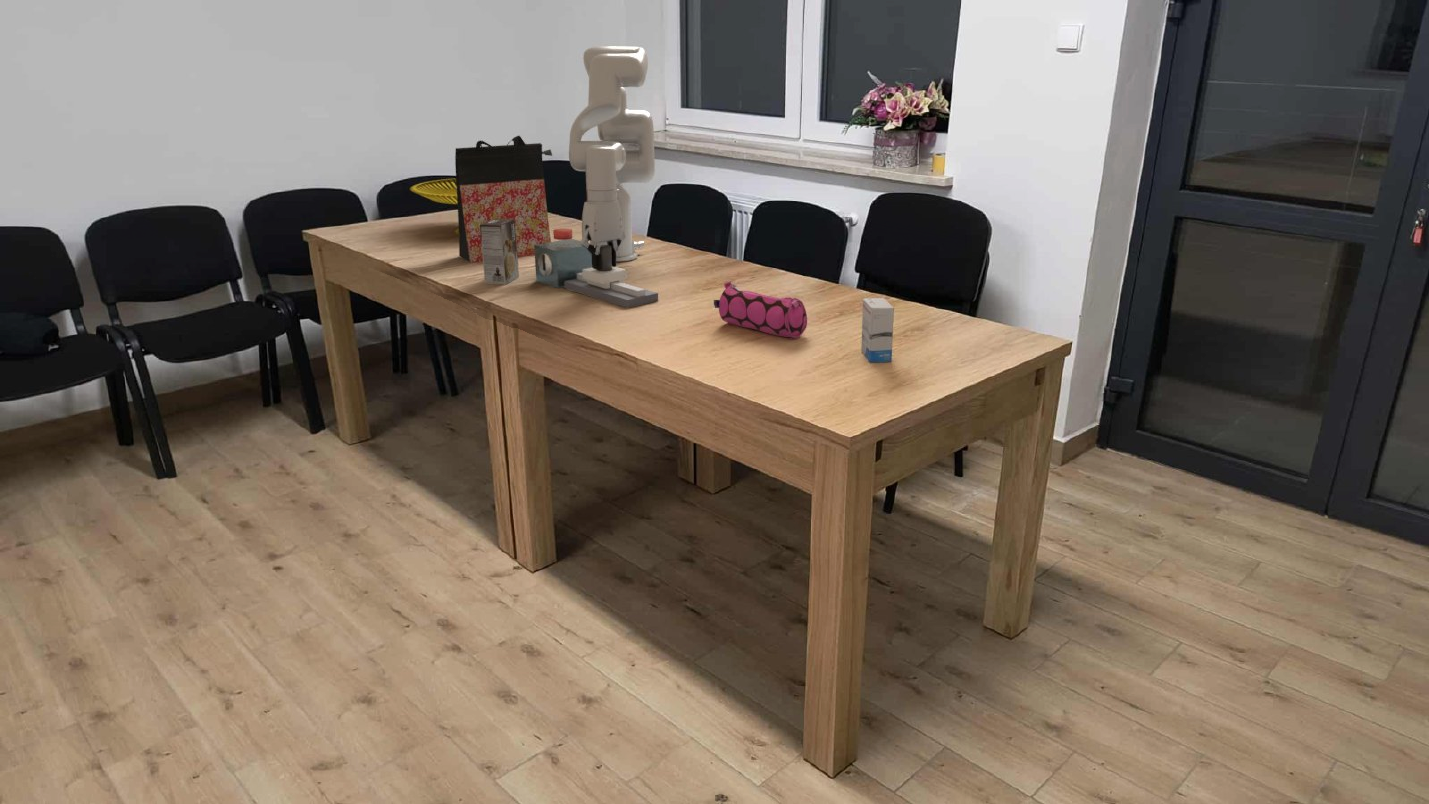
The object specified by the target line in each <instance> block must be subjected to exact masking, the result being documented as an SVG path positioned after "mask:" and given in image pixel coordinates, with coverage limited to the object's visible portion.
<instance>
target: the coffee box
mask: <svg viewBox="0 0 1429 804" xmlns="http://www.w3.org/2000/svg"><path fill="white" fill-rule="evenodd" d="M480 232H481V243H482V255H483V261H482V265H483V275H484V276H483V277H484V283H485V284H489V285H490V284H491V285H492V284H493V285H507V284H509V283H511V282H512V281H515V280H516V279H517V278H519V276H520V274H519V273H520V272H519V260H518V258H519V257H517V244H516V231H515V219H492V220H489V221H487V222H485V223H483V224H480Z"/></svg>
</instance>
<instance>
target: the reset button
mask: <svg viewBox="0 0 1429 804" xmlns="http://www.w3.org/2000/svg"><path fill="white" fill-rule="evenodd" d="M552 232H553V234H552V235H553V239H554V240H556V241H559V240H567V239H573V230H572V229H571V228H556V229H554V230H553V231H552Z"/></svg>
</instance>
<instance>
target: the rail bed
mask: <svg viewBox="0 0 1429 804" xmlns="http://www.w3.org/2000/svg"><path fill="white" fill-rule="evenodd" d="M564 285H565V287H564V289H565V290H568V291H571V292H575V293H578V294H581V295H585V296H588V297H591V298H594V299H597V300H600V301H603V302H607V303H609V304H610V303H611V304H613V305H616V306H619V307H620V306H621V307H623V308H627V309H629V308H630V309H631V308H633V307H637V306H642V305H646V304H650V303H654V301H655V302H658V301H659V292H656V291H653V290H649V289H645V288H642V287H639V286H635V285H632V284H628V283H625V282H623V283H621V282H617V281H614V282H610V288H608V289H605V288H602V287H598V286H595V285H591V284H588V283H587V279H583V272H582V273H577V279H572V280H567V281H564Z"/></svg>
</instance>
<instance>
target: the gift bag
mask: <svg viewBox="0 0 1429 804" xmlns="http://www.w3.org/2000/svg"><path fill="white" fill-rule="evenodd" d="M511 141H512V142H513V144H510V143H511ZM482 145H485V146H482ZM454 155H455V158H454V161H455V162H454V165H455V179H456V182H455V185H456V187H457V203H458V204H457V217H458V218H457V219H458V221H457V223H458V229H459V234H458V254H459V257H460V258H461V259H464V261H465V260H466V261H467V262H468V261H469V263H471V262H472V263H479V261H481V262H483V255H482V243H481V232H480V224H483V223H485V222H487V221H489V220H492V219H515V231H516V244H517V258H520V257H527V256H530V257H531V256H535V252H534V245H536V244H542V243H548V242H552V239H551V232H550V222H549V217H548V216H549V215H548V207H547V205H548V204H547V197H546V195H547V194H546V187H545V176H544V174H545V173H544V166H543V165H544V164H543V155H545V156H551V157H553V153H552V150H551V149H546V150H543V144H542V143H541V142H539V143H536V142H535V143H525V141H524V140H523V138H522V137H521V135H517V136H515V137H513V138H512V139H511V140H510V141H509V142H507V144H506V145H503V144H502V145H491V144H489V143H487V142H485V141H483V140H478V141H477V142H476V144H475V146H474V147H473V146H471V147H458V148H457V147H456V148H455V153H454Z"/></svg>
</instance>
